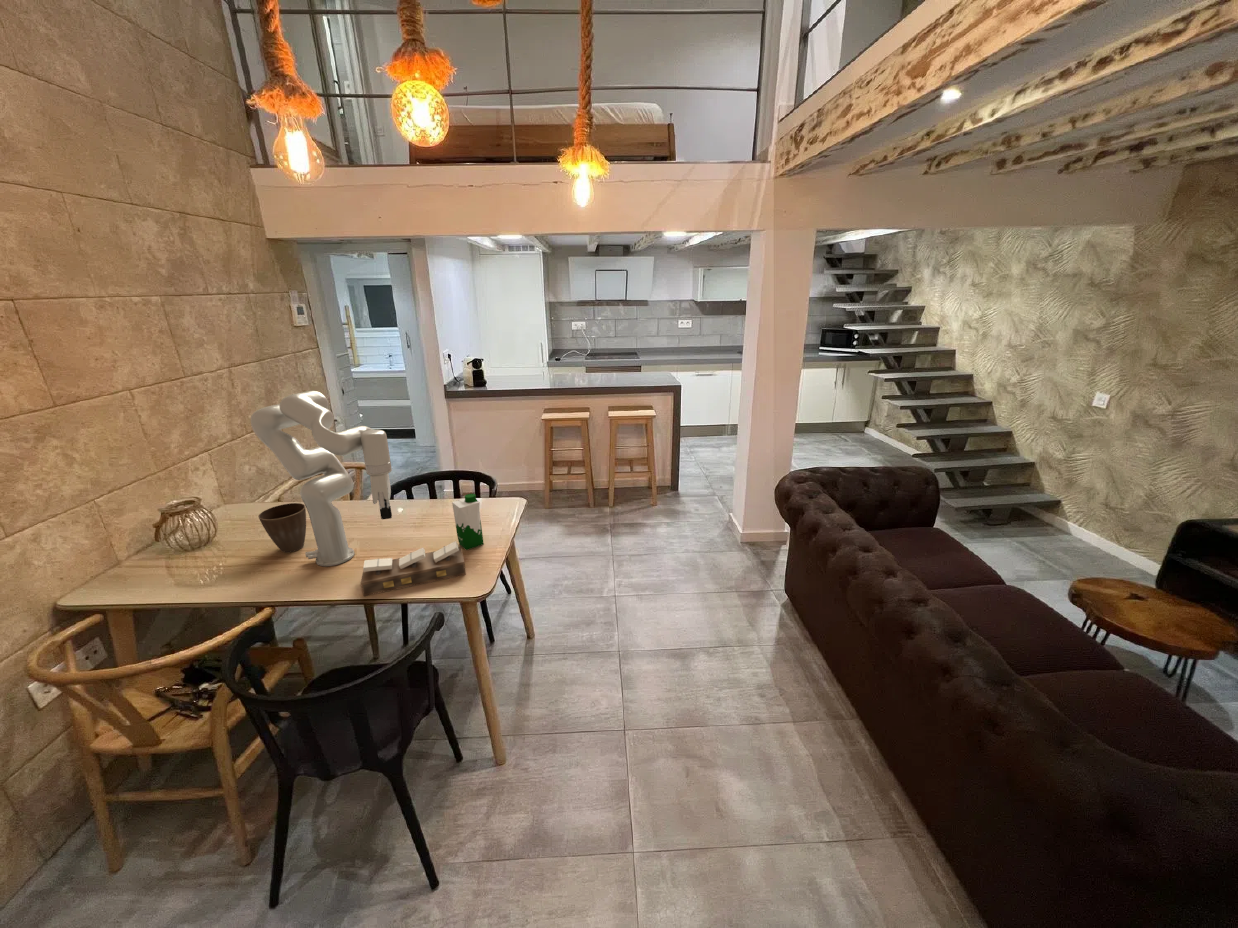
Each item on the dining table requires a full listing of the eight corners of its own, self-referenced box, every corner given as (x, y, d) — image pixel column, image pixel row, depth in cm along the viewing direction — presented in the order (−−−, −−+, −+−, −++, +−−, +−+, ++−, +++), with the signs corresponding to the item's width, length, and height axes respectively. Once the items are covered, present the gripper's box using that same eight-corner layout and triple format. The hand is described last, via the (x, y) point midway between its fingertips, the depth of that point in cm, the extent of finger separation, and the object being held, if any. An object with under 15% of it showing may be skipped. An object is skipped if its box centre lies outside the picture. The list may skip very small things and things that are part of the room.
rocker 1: (363, 571, 157) (363, 567, 157) (364, 563, 162) (364, 559, 161) (391, 569, 161) (391, 564, 160) (392, 561, 165) (392, 557, 165)
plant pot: (292, 559, 180) (282, 520, 175) (259, 556, 183) (248, 517, 178) (323, 540, 194) (314, 504, 189) (292, 537, 197) (282, 501, 192)
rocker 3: (435, 562, 166) (433, 559, 165) (435, 555, 170) (433, 552, 170) (458, 550, 167) (456, 546, 167) (457, 543, 172) (455, 540, 171)
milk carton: (486, 544, 188) (481, 497, 181) (464, 552, 182) (457, 503, 176) (477, 536, 194) (471, 490, 188) (455, 544, 189) (448, 496, 182)
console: (363, 596, 156) (359, 580, 154) (366, 577, 167) (363, 562, 165) (466, 574, 167) (463, 559, 165) (462, 558, 178) (460, 543, 176)
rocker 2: (401, 569, 162) (398, 565, 161) (401, 561, 166) (399, 558, 166) (425, 557, 164) (422, 553, 163) (424, 550, 168) (422, 546, 168)
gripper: (368, 461, 163) (376, 510, 170) (363, 476, 150) (372, 529, 156) (392, 459, 166) (399, 507, 172) (389, 474, 153) (397, 526, 159)
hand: (386, 517), depth 164 cm, fingers closed
